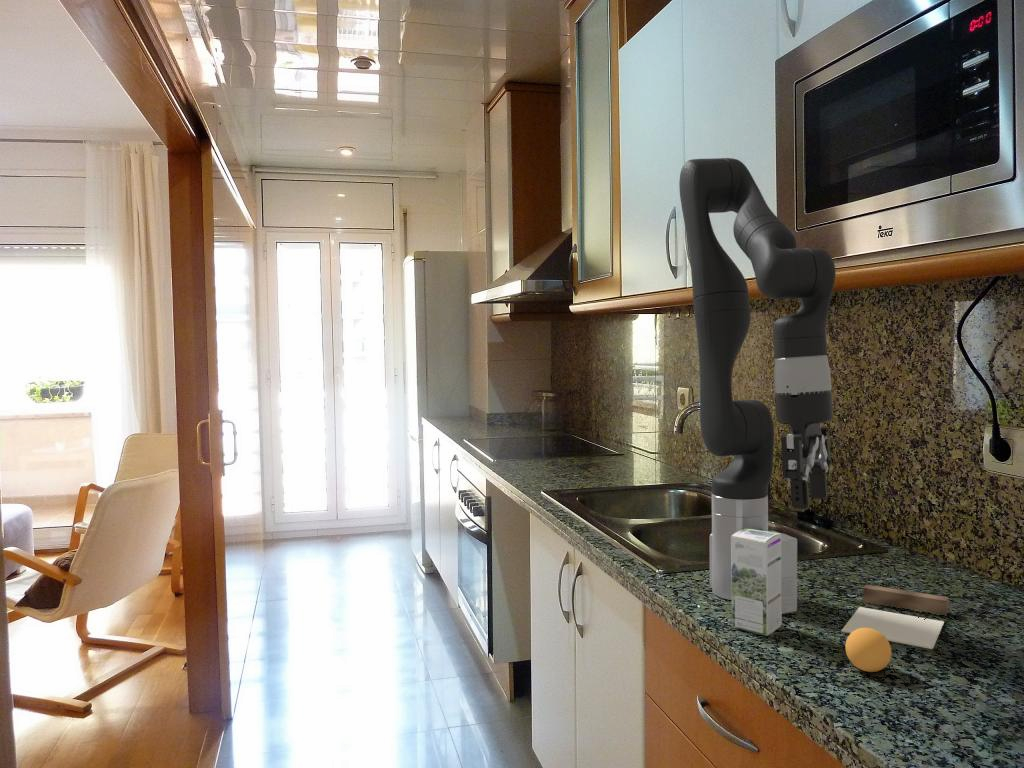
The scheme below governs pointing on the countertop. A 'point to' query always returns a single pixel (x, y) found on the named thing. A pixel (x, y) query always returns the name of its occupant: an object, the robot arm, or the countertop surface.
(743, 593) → the syrup box
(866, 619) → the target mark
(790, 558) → the skincare box
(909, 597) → the stop rail
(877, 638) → the ball
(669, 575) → the countertop surface
